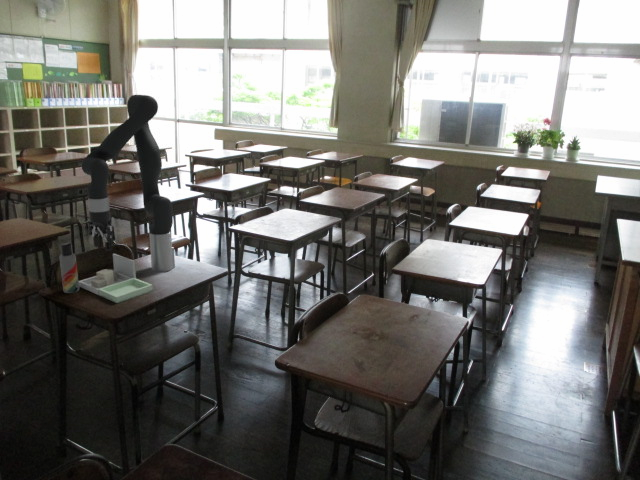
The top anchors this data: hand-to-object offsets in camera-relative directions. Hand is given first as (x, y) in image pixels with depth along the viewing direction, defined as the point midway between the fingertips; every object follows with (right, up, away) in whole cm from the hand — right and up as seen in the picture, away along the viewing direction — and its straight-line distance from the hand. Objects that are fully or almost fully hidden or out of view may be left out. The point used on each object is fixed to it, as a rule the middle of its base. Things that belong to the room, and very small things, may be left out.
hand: (103, 248), depth 204 cm
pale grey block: (-1, -16, -1) cm, 17 cm away
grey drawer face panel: (+4, -13, +11) cm, 18 cm away
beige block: (0, -15, +4) cm, 16 cm away
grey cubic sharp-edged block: (-1, -13, +9) cm, 16 cm away
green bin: (+10, -18, -3) cm, 21 cm away
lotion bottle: (-12, -17, -2) cm, 21 cm away
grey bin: (-1, -15, +5) cm, 16 cm away
